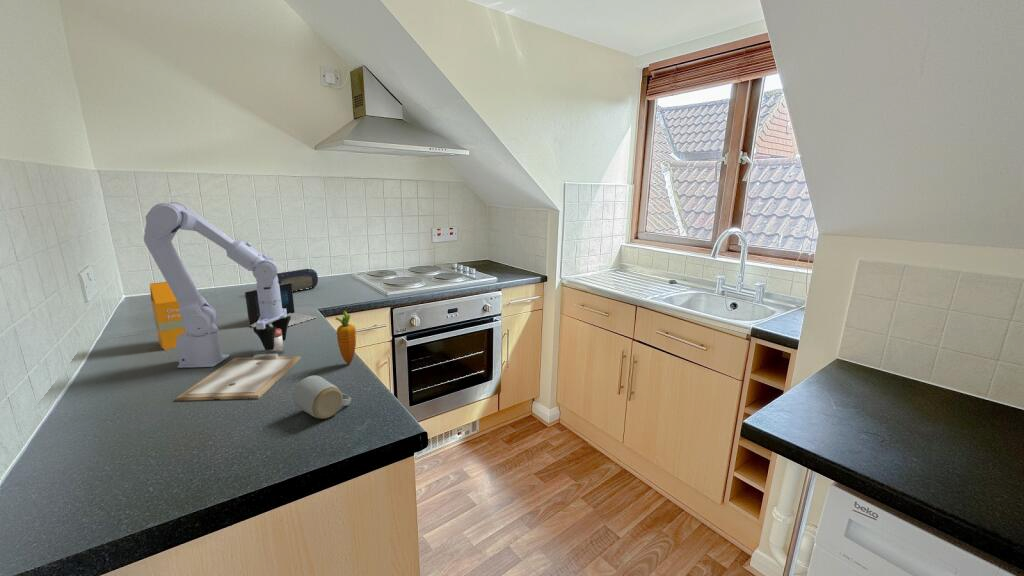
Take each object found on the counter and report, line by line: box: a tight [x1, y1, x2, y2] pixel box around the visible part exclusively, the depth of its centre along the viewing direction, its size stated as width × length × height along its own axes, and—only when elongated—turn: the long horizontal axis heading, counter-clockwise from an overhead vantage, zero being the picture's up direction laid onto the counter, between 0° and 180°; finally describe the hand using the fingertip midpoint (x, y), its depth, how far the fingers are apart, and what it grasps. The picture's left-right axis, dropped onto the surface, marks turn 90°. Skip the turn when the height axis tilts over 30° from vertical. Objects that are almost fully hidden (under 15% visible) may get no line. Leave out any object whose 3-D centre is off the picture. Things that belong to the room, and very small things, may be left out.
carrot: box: [335, 311, 357, 365], centre depth 116 cm, size 5×5×15 cm
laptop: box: [244, 283, 317, 328], centre depth 154 cm, size 18×12×13 cm
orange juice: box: [149, 281, 186, 351], centre depth 131 cm, size 8×9×20 cm
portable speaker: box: [277, 268, 319, 291], centre depth 201 cm, size 25×10×10 cm, turn 147°
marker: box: [267, 328, 285, 356], centre depth 125 cm, size 4×4×7 cm
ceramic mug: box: [292, 375, 352, 420], centre depth 93 cm, size 11×8×8 cm
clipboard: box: [176, 353, 302, 402], centre depth 109 cm, size 18×24×2 cm
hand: (275, 344), depth 125 cm, fingers open, 7 cm apart
